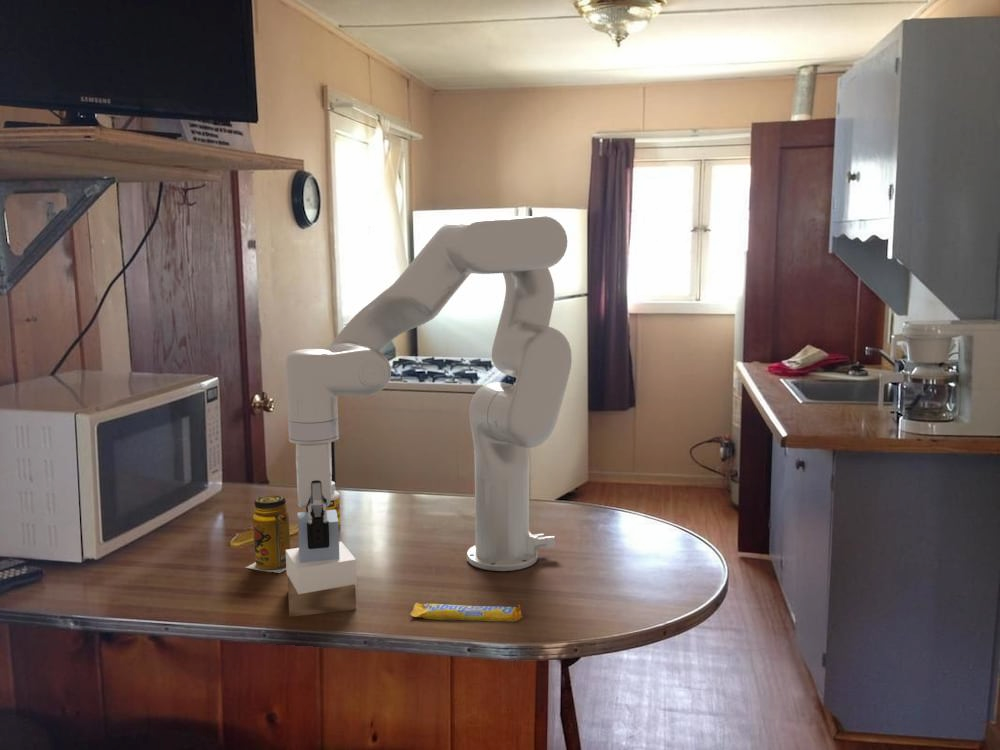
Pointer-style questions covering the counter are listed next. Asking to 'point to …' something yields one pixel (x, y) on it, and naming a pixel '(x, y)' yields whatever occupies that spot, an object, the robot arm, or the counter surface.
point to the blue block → (319, 553)
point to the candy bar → (466, 612)
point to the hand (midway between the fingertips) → (317, 537)
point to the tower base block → (321, 600)
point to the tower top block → (321, 571)
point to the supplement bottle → (335, 502)
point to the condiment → (270, 534)
